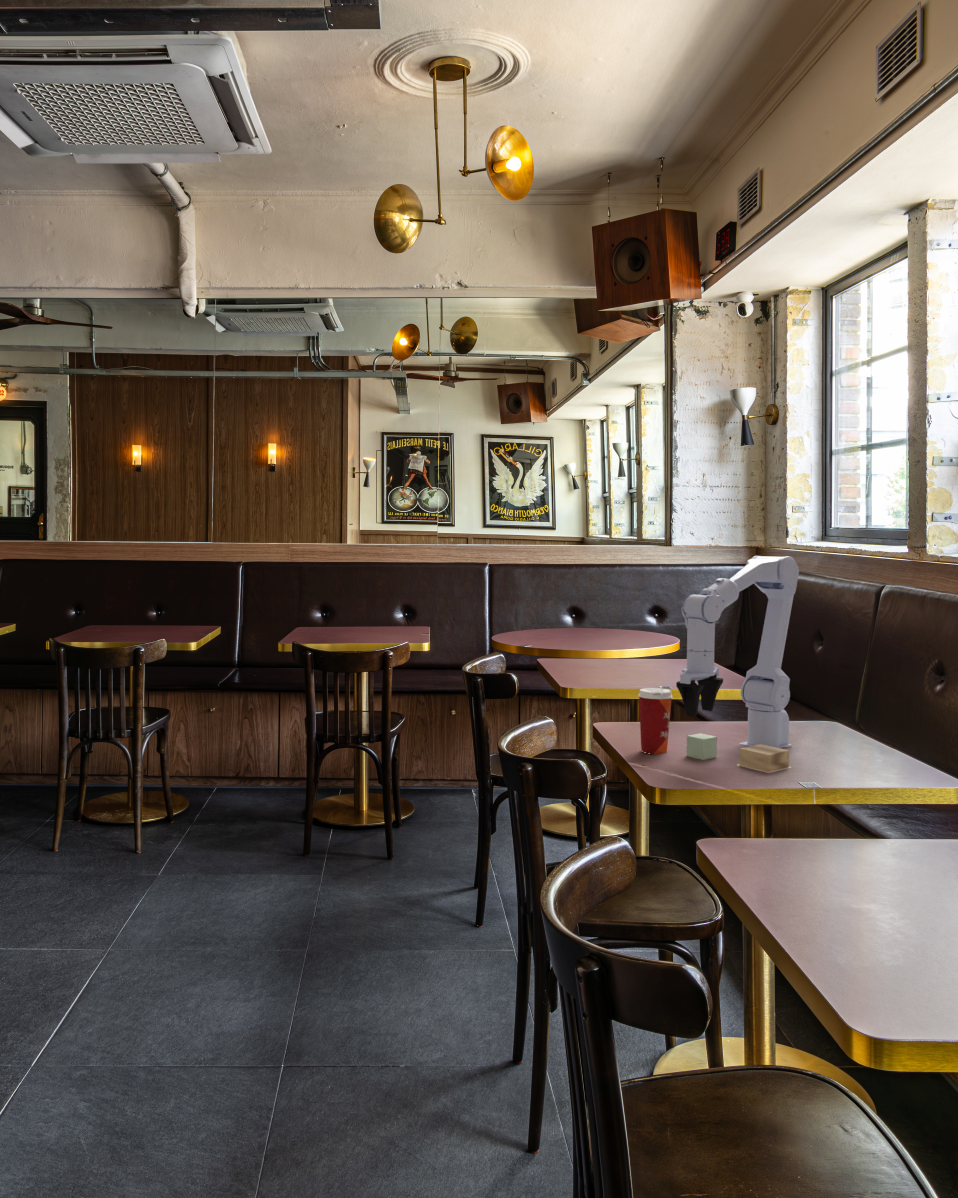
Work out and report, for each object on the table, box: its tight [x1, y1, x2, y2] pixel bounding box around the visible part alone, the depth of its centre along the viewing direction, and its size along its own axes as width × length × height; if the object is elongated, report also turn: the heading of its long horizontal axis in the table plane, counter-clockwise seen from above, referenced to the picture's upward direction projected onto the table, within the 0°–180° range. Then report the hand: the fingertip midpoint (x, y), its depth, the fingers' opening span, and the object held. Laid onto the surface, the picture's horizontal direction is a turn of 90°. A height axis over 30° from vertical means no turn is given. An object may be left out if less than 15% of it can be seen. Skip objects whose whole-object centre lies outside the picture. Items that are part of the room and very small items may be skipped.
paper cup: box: [637, 687, 674, 755], centre depth 195 cm, size 8×8×14 cm
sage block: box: [685, 732, 718, 761], centre depth 189 cm, size 4×4×5 cm
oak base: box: [739, 744, 790, 773], centre depth 181 cm, size 7×7×4 cm
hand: (699, 713), depth 188 cm, fingers open, 7 cm apart
